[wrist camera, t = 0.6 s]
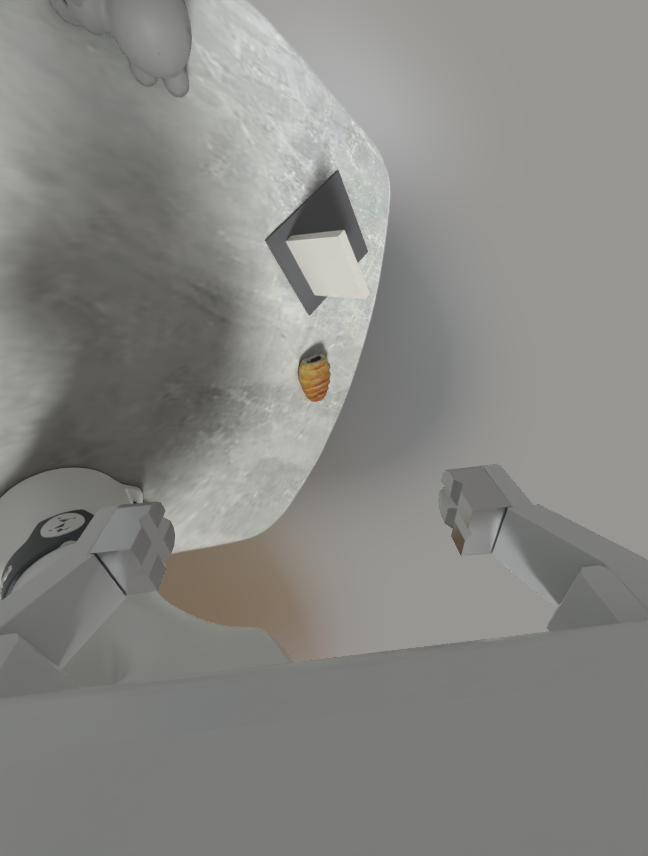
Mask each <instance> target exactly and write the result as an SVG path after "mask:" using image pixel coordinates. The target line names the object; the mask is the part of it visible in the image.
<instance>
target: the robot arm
mask: <svg viewBox="0 0 648 856" xmlns="http://www.w3.org/2000/svg"><path fill="white" fill-rule="evenodd" d="M442 483H443V484H444V486H445V487H444V488H443V489H442V490H441V491H440V492H439V500H438V501H439V509H440V513H441V516H442V518H443V520H444V522H445V524H447V525H448V526H450V527H451V528H453V530H452V535H451V537H452V539H453V541H454V543H455V545H456V547H457V549H458V551H459V553H460V555H461V556H470V555H481V554H492V556H493V557H495V558H496V559H497V560H498V561H500V562H501V563H502V564H503V565H504V566H506V567H507V568H508V569H509V570H511V571H512V572H513V573H514V574H515V575H517V576H518V577H519V578H520V579H522V580H523V581H524V582H525V583H527V584H528V585H529V586H530V587H531V588H533V589H534V590H535V591H536V592H538V593H539V594H540V595H541V596H543V597H544V598H545V599H546V600H547V601H549V602H550V603H551V604H552V605H554V606H555V607H556V608H557V610H556V611H555V613H554V615H553V616H552V618H551V620H550V621H549V624H548V626H547V629H548V630H549V632H541V633H533V634H524V635H516V636H508V637H499V638H491V639H483V640H475V641H467V642H458V643H450V644H442V645H434V646H425V647H417V648H409V649H400V650H392V651H384V652H376V653H367V654H359V655H350V656H343V657H334V658H326V659H318V660H309V661H301V662H292V660H291V658H290V656H289V654H288V653H287V651H286V650H285V649H284V647H283V646H282V645H281V644H280V643H279V642H278V640H276V639H275V638H274V637H273V636H271V635H270V634H269V633H267V632H265V631H263V630H262V629H259V628H255V627H232V626H225V625H220V624H215V623H211V622H208V621H205V620H202V619H199V618H197V617H194V616H192V615H190V614H188V613H185V612H183V611H182V610H180V609H178V608H176V607H174V606H173V605H171V604H170V603H168V602H167V601H166V600H165V599H163V598H162V597H161V596H160V595H159V593H158V592H157V591H158V589H159V586H160V584H161V581H162V578H163V575H164V572H165V570H166V567H165V565H164V563H163V561H165V560H166V559H167V558H168V557H169V556H170V555H171V553H172V550H173V547H174V541H175V532H174V527H173V525H172V523H171V521H169V520H168V519H166V518H164V517H163V515H164V513H165V509H164V507H163V506H162V504H161V503H160V502H147V503H143V493H142V491H141V489H140V488H138V487H135V486H130V485H124V484H121V483H119V482H117V481H115V480H114V479H113V478H111V477H110V476H108V475H106V474H104V473H101V472H99V471H96V470H92V469H86V468H61V469H55V470H50V471H46V472H43V473H40V474H37V475H34V476H32V477H30V478H27V479H25V480H24V481H22V482H20V483H18V484H17V485H15V486H14V487H12V488H11V489H10V490H9V491H7V492H6V493H5V494H4V495H3V496H2V497H1V498H0V856H648V560H646V559H645V558H643V557H641V556H639V555H638V554H636V553H633V552H632V551H630V550H628V549H626V548H624V547H622V546H620V545H618V544H616V543H614V542H612V541H610V540H608V539H606V538H604V537H602V536H600V535H598V534H596V533H594V532H592V531H590V530H588V529H586V528H584V527H582V526H580V525H579V524H577V523H574V522H572V521H571V520H569V519H567V518H565V517H563V516H561V515H559V514H557V513H555V512H553V511H551V510H549V509H547V508H545V507H543V506H541V505H539V504H537V505H533V504H532V503H531V502H530V500H529V499H528V498H527V497H526V495H525V494H524V493H523V492H522V491H521V489H520V488H519V487H518V486H517V485H516V483H515V482H514V481H513V480H512V479H511V477H510V476H509V475H508V474H507V473H506V471H505V470H504V469H503V468H502V467H501V466H500V465H498V464H492V465H483V466H479V467H478V466H477V467H468V468H459V469H451V470H445V471H444V473H443V474H442ZM134 501H135V503H134V504H133V502H134Z"/></svg>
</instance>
